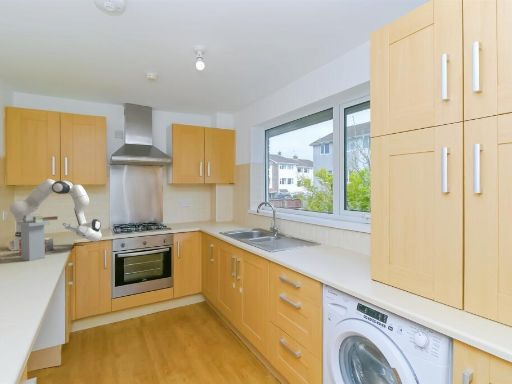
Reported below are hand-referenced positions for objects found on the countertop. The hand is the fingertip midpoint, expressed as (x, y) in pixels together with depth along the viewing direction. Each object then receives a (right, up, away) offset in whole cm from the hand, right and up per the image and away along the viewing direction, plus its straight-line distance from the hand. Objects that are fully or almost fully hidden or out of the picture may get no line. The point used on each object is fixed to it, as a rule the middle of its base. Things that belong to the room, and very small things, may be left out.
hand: (66, 224), depth 217 cm
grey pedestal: (-11, -22, -18) cm, 30 cm away
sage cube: (-5, +4, -22) cm, 23 cm away
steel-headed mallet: (-8, +4, -15) cm, 17 cm away
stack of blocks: (-22, -22, -1) cm, 31 cm away
